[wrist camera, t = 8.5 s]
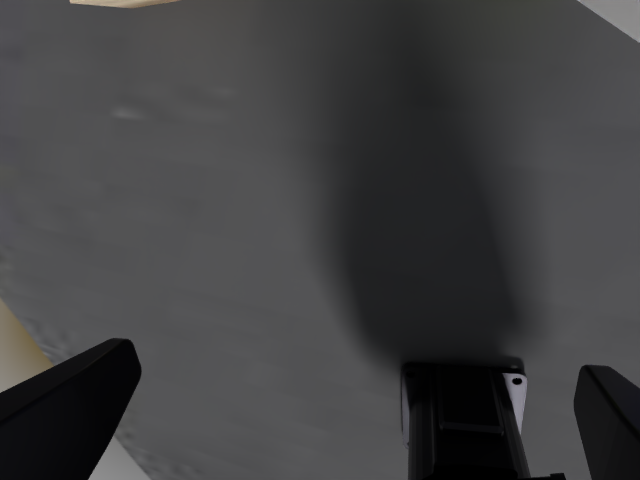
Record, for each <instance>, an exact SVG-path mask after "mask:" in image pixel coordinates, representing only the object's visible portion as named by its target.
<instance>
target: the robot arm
mask: <svg viewBox="0 0 640 480" xmlns="http://www.w3.org/2000/svg"><path fill="white" fill-rule="evenodd" d="M408 371H413V373H409V372H408ZM141 372H142V370H141V365H140V362H139V359H138V356H137V353H136V350H135V347H134V345H133V343H132V342H131V340H129V339H122V338H112V339H109V340H107V341H105V342H103V343H101V344H99V345H97V346H95V347H93V348H91V349H89V350H87V351H85V352H83V353H80V354H78V355H76V356H74V357H72V358H70V359H68V360H66V361H64V362H62V363H60V364H58V365H56V366H54V367H52V368H50V369H48V370H46V371H44V372H42V373H40V374H38V375H36V376H34V377H32V378H30V379H28V380H26V381H24V382H22V383H20V384H17V385H15V386H13V387H12V388H10V389H8V390H5V391H3V392H1V393H0V480H88V479H89V477H90V475H91V474H92V472H93V470H94V469H95V467H96V465H97V464H98V462H99V460H100V459H101V457H102V455H103V453H104V452H105V450H106V448H107V446H108V444H109V442H110V441H111V439H112V437H113V435H114V433H115V431H116V429H117V427H118V424H119V422H120V420H121V418H122V416H123V414H124V412H125V410H126V408H127V406H128V403H129V401H130V399H131V397H132V395H133V393H134V391H135V389H136V387H137V385H138V382H139V380H140V378H141ZM514 378H520V379H518V380H514ZM526 389H527V377H526V374H525V373H524V371H522V370H520V369H512V368H495V367H479V366H462V365H445V364H429V363H412V362H410V363H406V364H404V365H403V366H402V412H403V444H404V447H405V448H407V449H409V454H408V480H566V478H565V475H564V473H555V474H550V476H547V477H532V478H531V476H530V472H529V468H528V464H527V460H526V456H525V452H524V448H523V444H522V440H521V437H520V434H521V426H522V419H523V412H524V404H525V397H526ZM574 412H575V416H576V420H577V424H578V428H579V432H580V436H581V439H582V443H583V447H584V451H585V455H586V459H587V463H588V467H589V471H590V474H591V478H592V480H640V388H638V387H637V386H636V385H634V384H633V383H632V382H630V381H629V380H627V379H626V378H625V377H623V376H622V375H621V374H619V373H618V372H617V371H615V370H614V369H612V368H611V367H608V366H600V365H584V366H582V367H581V369H580V372H579V377H578V382H577V387H576V392H575V397H574Z"/></svg>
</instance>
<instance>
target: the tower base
mask: <svg viewBox="0 0 640 480" xmlns="http://www.w3.org/2000/svg"><path fill="white" fill-rule="evenodd" d="M174 1H180V0H70V2H71V3H77V4H88V5H100V6H112V7H123V8H137V7H143V6H149V5H155V4H161V3H167V2H174Z"/></svg>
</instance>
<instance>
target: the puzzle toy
mask: <svg viewBox="0 0 640 480" xmlns="http://www.w3.org/2000/svg"><path fill="white" fill-rule="evenodd" d="M577 1H579V2H580V3H582V4H583V5H585V6H586V7H588V8H589V9H591V10H592V11H594V12H595V13H597V14H598V15H599V16H601V17H602V18H604V19H605V20H607V21H608V22H610V23H611V24H613V25H614V26H616V27H617V28H619V29H620V30H622V31H623V32H624V33H626V34H627V35H629V36H630V37H632V38H633V39H635V40H636V41H638V42H639V43H640V0H577Z"/></svg>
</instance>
